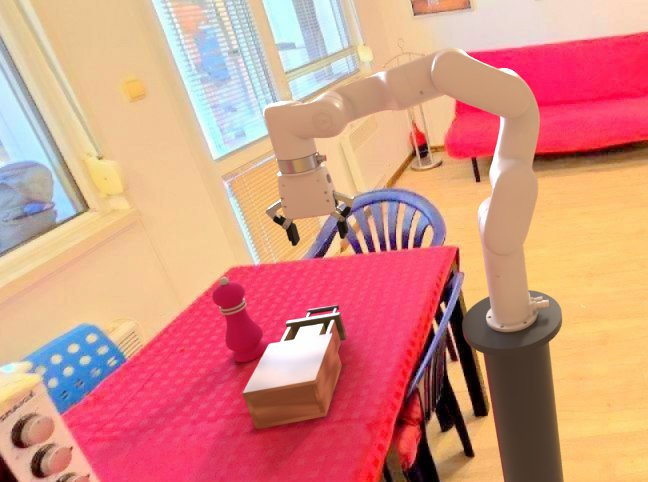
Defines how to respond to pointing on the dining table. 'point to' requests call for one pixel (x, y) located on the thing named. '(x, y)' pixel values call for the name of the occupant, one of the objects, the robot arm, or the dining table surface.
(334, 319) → the drawer
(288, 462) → the dining table surface
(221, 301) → the pepper mill
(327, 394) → the cabinet
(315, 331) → the block
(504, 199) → the robot arm
